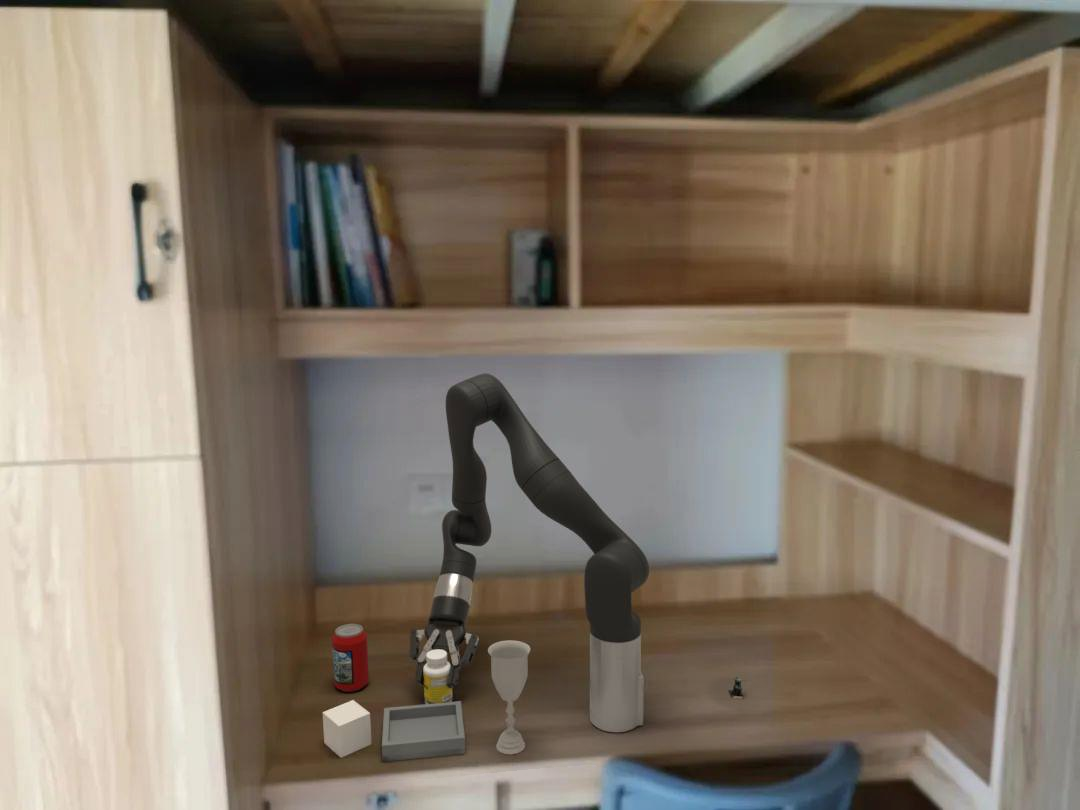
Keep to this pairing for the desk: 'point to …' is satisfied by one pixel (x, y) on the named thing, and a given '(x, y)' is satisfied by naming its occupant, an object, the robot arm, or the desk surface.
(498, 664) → the chalice
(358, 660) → the beverage can
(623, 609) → the robot arm
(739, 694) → the sculpture
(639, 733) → the desk surface
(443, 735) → the tray
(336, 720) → the white cube
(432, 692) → the supplement bottle
